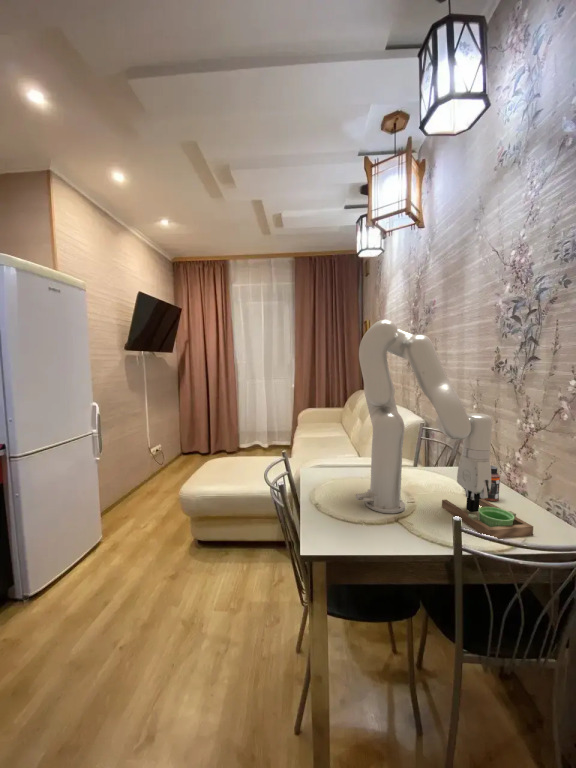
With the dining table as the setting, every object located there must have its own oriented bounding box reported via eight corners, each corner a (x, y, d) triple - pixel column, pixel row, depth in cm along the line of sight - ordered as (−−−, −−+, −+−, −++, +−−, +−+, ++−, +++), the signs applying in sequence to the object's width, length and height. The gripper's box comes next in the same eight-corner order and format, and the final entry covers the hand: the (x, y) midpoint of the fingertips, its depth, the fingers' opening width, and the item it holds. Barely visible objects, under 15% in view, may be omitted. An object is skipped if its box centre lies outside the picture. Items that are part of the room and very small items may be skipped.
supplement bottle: (502, 502, 120) (504, 469, 119) (484, 501, 120) (486, 469, 119) (492, 495, 126) (494, 464, 125) (475, 495, 126) (477, 463, 125)
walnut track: (488, 539, 95) (488, 527, 95) (441, 507, 115) (441, 497, 115) (533, 535, 98) (534, 523, 98) (479, 504, 118) (480, 494, 118)
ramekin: (471, 525, 103) (472, 511, 102) (485, 517, 108) (486, 503, 108) (505, 539, 96) (506, 523, 95) (518, 529, 101) (519, 514, 101)
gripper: (450, 447, 116) (446, 501, 118) (482, 461, 101) (478, 522, 103) (470, 447, 117) (467, 500, 119) (505, 460, 103) (501, 521, 104)
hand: (472, 510), depth 111 cm, fingers closed
